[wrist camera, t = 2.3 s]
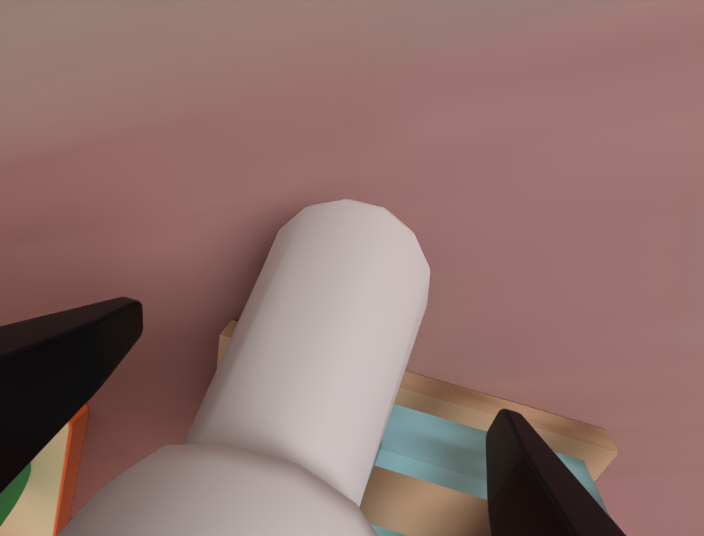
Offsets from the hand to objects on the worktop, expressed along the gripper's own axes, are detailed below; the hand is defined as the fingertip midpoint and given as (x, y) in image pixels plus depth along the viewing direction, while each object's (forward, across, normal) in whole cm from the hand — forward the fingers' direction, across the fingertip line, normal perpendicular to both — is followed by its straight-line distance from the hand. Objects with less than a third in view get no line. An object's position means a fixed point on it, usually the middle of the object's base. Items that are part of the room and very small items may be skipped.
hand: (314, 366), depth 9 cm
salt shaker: (+7, 0, 0) cm, 7 cm away
